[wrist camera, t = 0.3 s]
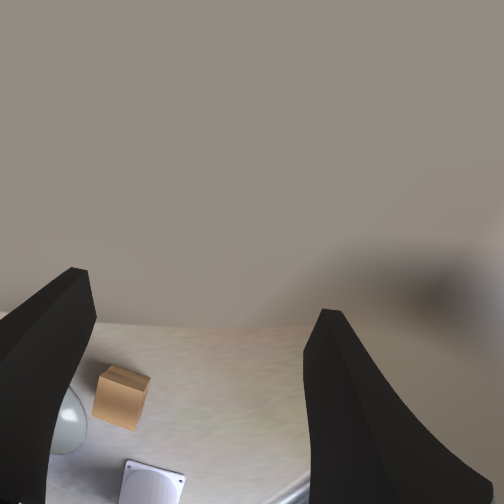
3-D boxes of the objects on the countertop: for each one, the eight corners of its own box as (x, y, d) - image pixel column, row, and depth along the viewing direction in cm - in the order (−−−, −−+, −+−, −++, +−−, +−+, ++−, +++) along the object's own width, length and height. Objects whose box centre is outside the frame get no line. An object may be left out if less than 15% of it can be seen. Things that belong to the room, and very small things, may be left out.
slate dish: (81, 464, 31) (80, 467, 30) (9, 428, 30) (6, 430, 29) (93, 392, 34) (91, 394, 33) (17, 356, 32) (13, 357, 31)
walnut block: (141, 413, 34) (134, 431, 29) (104, 399, 34) (91, 415, 28) (150, 378, 35) (143, 392, 30) (112, 364, 35) (99, 376, 29)
